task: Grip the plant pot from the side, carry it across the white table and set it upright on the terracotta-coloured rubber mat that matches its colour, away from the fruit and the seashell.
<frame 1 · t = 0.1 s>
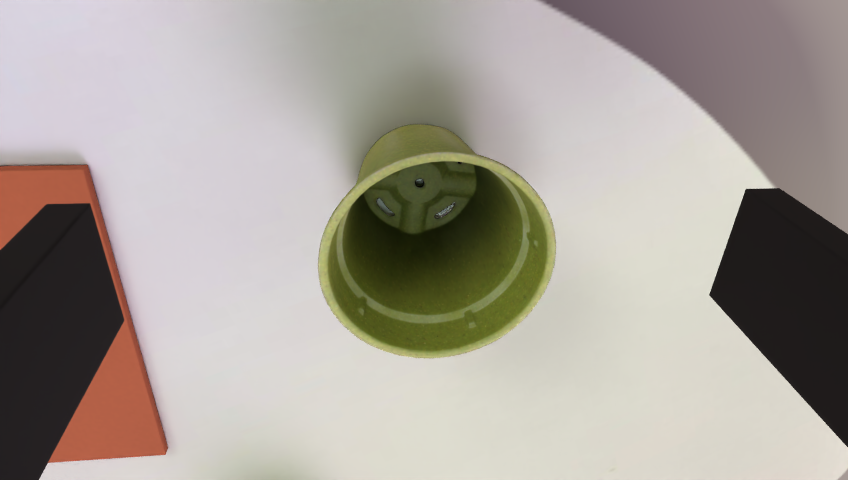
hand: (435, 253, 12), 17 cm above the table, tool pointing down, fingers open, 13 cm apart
plant pot: (416, 175, 30), on the table
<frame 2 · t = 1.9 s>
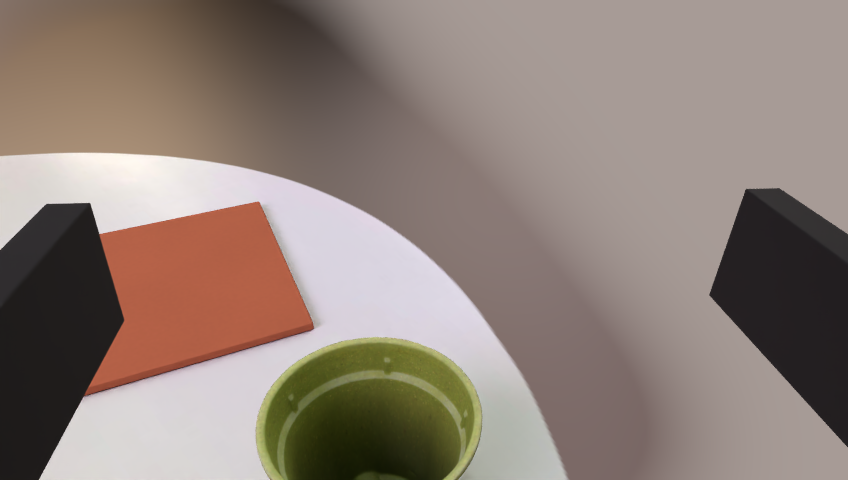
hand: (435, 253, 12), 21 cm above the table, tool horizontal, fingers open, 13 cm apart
terracotta mat: (158, 288, 46), on the table
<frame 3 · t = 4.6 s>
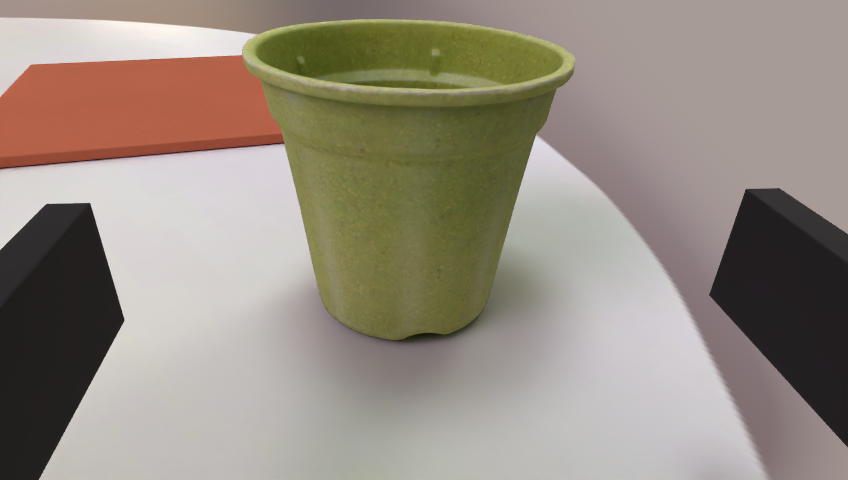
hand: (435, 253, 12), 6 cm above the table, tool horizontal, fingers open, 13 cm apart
plant pot: (405, 293, 21), on the table
terracotta mat: (167, 100, 39), on the table
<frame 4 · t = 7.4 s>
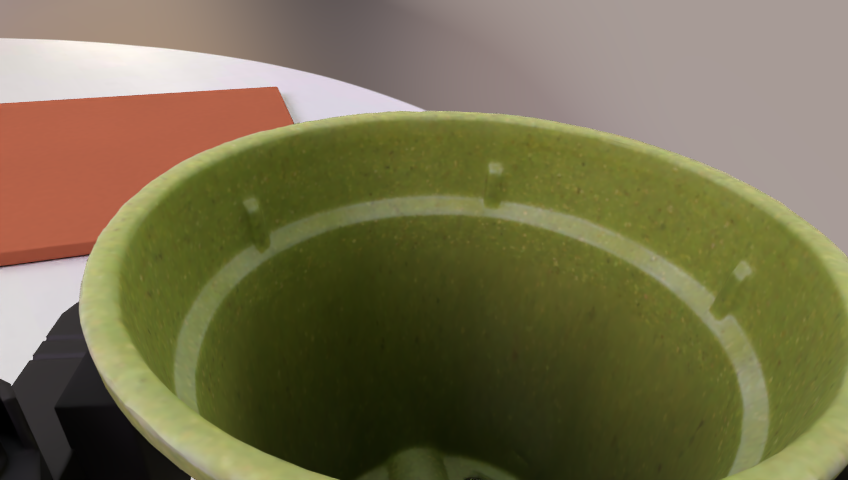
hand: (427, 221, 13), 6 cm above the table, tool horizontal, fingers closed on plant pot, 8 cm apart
terracotta mat: (109, 160, 30), on the table
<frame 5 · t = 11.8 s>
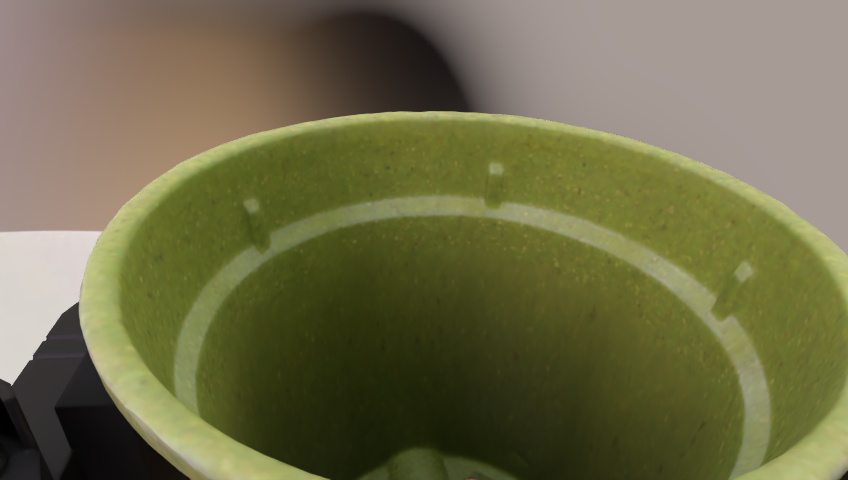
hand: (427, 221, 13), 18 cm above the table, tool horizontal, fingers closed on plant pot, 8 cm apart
when the fingers open (7 cm above the table, at t = 16.3 s): plant pot stays where it is, resting on terracotta mat.
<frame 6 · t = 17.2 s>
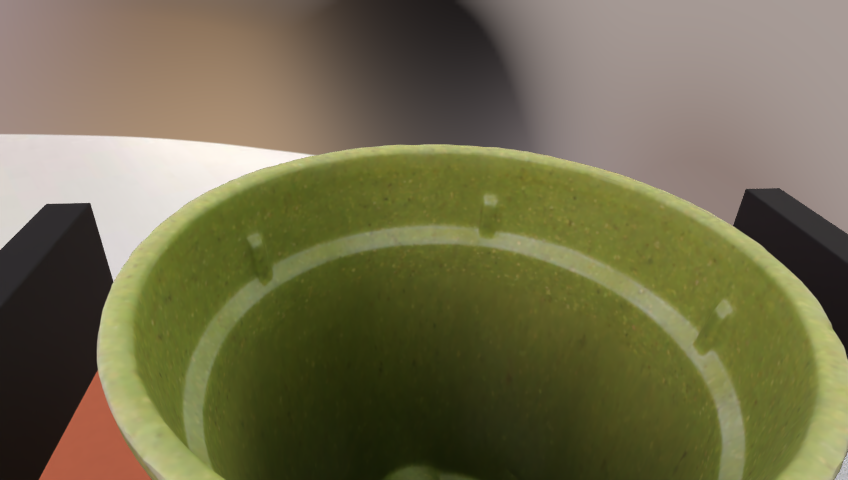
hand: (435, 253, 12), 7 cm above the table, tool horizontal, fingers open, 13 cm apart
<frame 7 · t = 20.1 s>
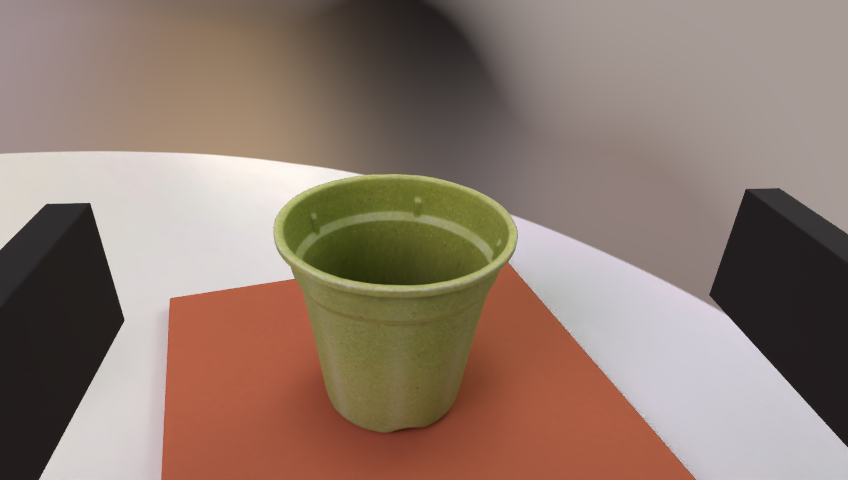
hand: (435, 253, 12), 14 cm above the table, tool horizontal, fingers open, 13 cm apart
plant pot: (393, 386, 27), resting on terracotta mat
terracotta mat: (394, 393, 27), on the table
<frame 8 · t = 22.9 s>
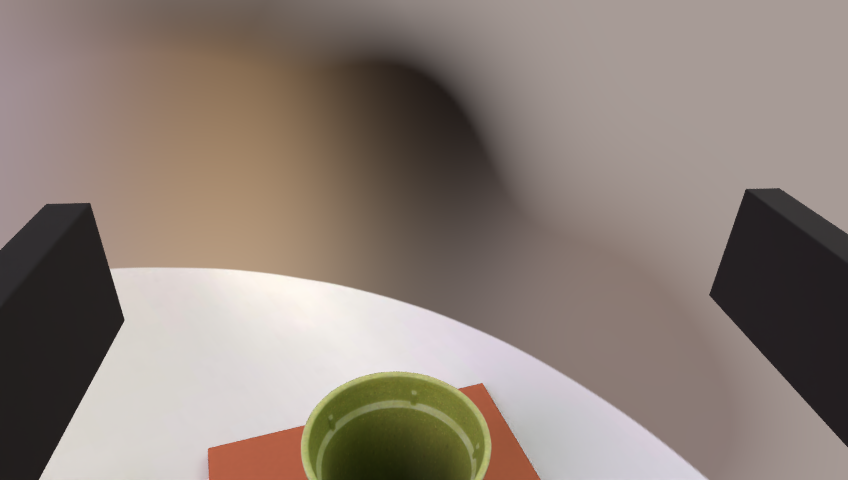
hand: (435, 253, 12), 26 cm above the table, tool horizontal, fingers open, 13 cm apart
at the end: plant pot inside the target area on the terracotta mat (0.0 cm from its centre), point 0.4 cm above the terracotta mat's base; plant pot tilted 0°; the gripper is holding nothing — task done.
